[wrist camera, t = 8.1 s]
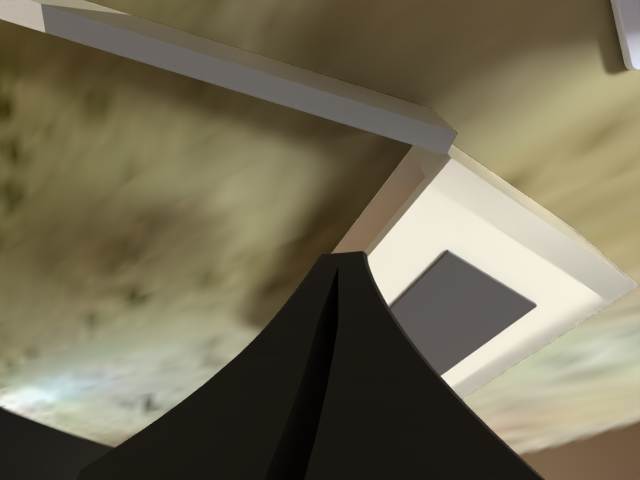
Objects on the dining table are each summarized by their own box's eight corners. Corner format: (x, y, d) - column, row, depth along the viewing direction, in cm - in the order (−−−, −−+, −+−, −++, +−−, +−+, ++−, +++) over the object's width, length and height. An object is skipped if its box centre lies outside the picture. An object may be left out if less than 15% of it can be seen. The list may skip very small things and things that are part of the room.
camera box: (572, 227, 18) (643, 288, 13) (408, 361, 25) (418, 430, 20) (426, 127, 16) (453, 159, 11) (293, 302, 23) (277, 365, 18)
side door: (423, 125, 15) (446, 155, 11) (22, 1, 14) (-111, -15, 10) (431, 108, 15) (457, 132, 11) (18, -21, 14) (-122, -47, 10)
